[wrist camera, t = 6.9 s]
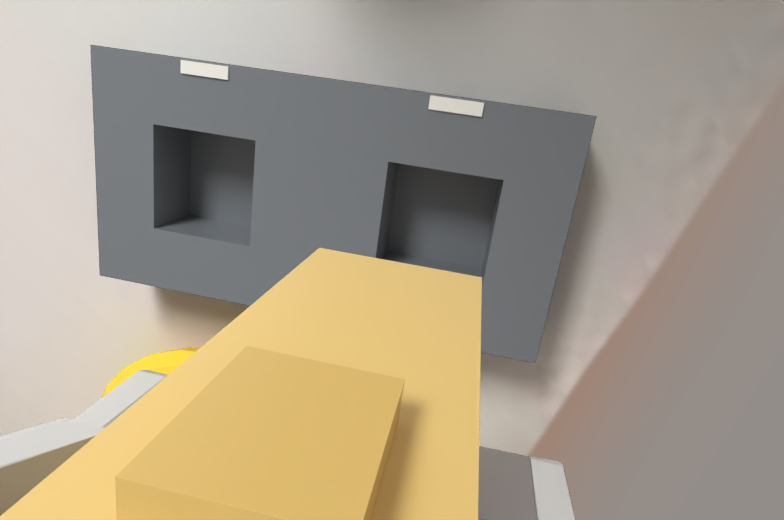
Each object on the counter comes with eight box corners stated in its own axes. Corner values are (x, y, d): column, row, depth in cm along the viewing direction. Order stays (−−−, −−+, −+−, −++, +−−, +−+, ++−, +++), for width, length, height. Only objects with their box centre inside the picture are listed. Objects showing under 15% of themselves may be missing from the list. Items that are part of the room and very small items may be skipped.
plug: (321, 224, 12) (-31, 474, 4) (487, 253, 12) (492, 611, 3) (305, 388, 14) (19, 835, 5) (452, 420, 13) (397, 971, 5)
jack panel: (142, 52, 29) (88, 44, 25) (580, 114, 26) (596, 116, 22) (144, 255, 32) (98, 275, 29) (528, 330, 29) (535, 364, 26)
